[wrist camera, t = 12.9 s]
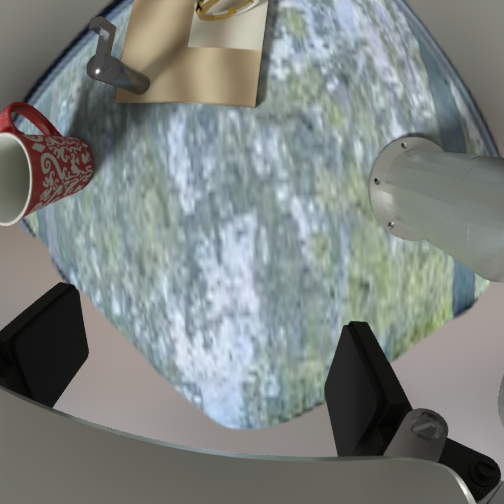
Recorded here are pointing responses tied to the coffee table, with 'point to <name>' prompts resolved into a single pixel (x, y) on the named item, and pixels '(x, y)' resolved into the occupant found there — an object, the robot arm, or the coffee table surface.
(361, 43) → the coffee table surface
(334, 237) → the coffee table surface
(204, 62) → the board
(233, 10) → the ring
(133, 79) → the keeper hook
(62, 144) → the mug
